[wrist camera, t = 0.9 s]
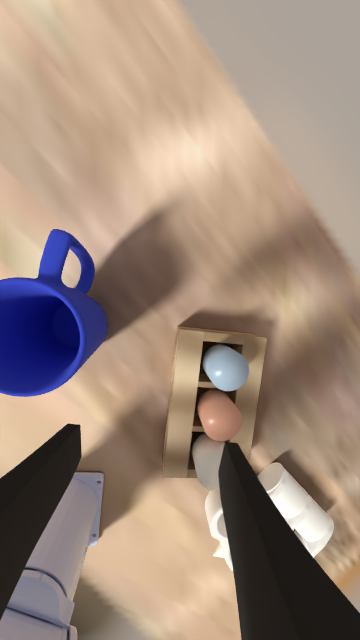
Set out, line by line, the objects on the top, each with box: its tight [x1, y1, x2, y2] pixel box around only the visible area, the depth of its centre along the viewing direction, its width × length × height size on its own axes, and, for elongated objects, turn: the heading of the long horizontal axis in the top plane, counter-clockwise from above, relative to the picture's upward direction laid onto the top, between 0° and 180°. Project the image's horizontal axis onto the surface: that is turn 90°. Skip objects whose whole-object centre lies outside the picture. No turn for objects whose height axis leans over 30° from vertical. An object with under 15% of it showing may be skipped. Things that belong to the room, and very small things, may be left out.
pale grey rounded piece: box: [192, 433, 225, 490], centre depth 22 cm, size 4×4×3 cm
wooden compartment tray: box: [163, 326, 267, 478], centre depth 24 cm, size 17×10×3 cm, turn 173°
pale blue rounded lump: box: [202, 345, 249, 391], centre depth 21 cm, size 4×4×3 cm
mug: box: [0, 229, 107, 397], centre depth 18 cm, size 8×12×10 cm
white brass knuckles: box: [205, 462, 334, 571], centre depth 27 cm, size 3×18×15 cm
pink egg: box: [197, 389, 242, 441], centre depth 22 cm, size 4×4×3 cm
